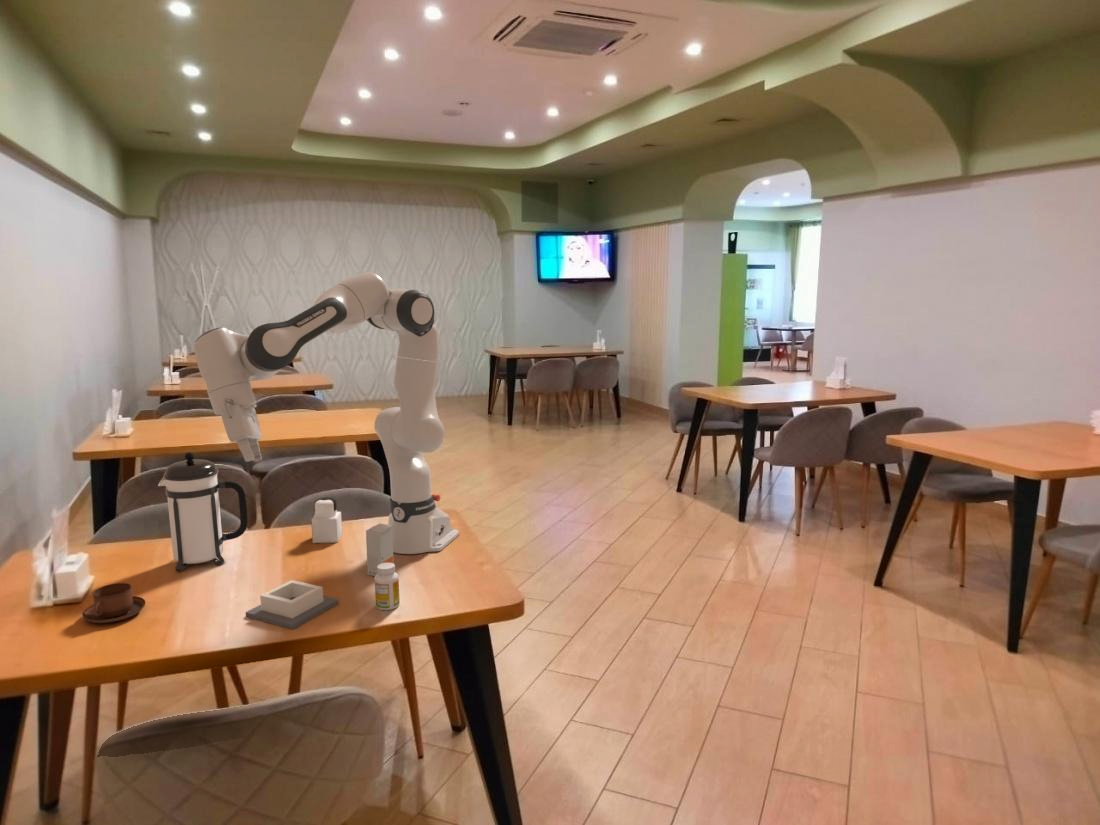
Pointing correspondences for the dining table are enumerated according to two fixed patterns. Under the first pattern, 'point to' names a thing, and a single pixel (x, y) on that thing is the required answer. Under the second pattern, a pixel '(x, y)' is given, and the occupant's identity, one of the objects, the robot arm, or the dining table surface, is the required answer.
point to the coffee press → (198, 511)
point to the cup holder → (291, 604)
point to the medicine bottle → (326, 521)
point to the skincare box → (379, 547)
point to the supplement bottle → (386, 587)
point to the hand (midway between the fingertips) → (254, 460)
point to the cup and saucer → (113, 604)
